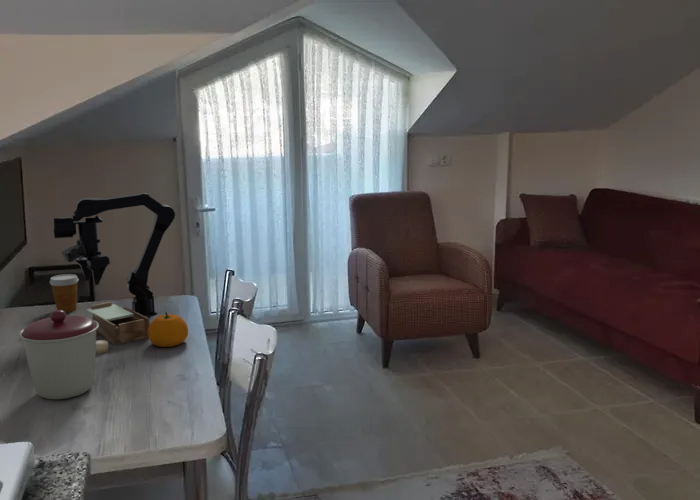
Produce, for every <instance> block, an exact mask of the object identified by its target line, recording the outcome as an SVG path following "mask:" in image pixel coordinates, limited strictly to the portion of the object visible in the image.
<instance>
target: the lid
mask: <svg viewBox="0 0 700 500" xmlns="http://www.w3.org/2000/svg"><path fill="white" fill-rule="evenodd" d="M90 306H91V307H90V308H87V309H86V312H88V313H89V314H91V315H92V314H93V313H95V314H97V315H98V316H100V317H102V318H104V319H106V320H108V321H112V320H116V319H121V318H126V317H131V316H134V314H133V313H131V312H129V311H127V310H125V309H124V307H121V306H119V305H117V304H115V303H112V301H106V302H103V303H97V304H92V305H90Z"/></svg>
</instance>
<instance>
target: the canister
mask: <svg viewBox="0 0 700 500" xmlns="http://www.w3.org/2000/svg"><path fill="white" fill-rule="evenodd" d="M98 327H99V324H98V322H96V321H94V320H93V318H89V317H87V316H82V315H67V312H64V311H63V310H57V309H56V310H53V311H52V312H51V313H50V316H49V317H47V318H42V319H38V320H36V321H34V322H32V323H29V324H27V326H26V327H24V328H22V329H21V330H20V331H19V332H18V337H19V339H21V340H22V342H23V343H22V344H23V346H24V347H23V348H24V351H25V356H26V360H27V365H28V368H29V372H30V376H31V380H32V384H33V386H34V389H35V391H36V393H37V394H38V396H40V397H41V398H44V399H48V400H65V399H71V398H74V397H78V396H81V395H83V394H85V393H86V392H87V391H89V390H90V389H91V388H92V386H93V384H94V382H95V376H96V375H95V374H96V373H95V370H96V341H97V334H96V330H97V329H98Z"/></svg>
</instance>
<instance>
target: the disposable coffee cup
mask: <svg viewBox="0 0 700 500" xmlns="http://www.w3.org/2000/svg"><path fill="white" fill-rule="evenodd" d="M79 281H80V279H79V278H78V275H76V274H71V273H69V274H66V273H65V274H58V275H54V276H52V277H50V280H49V284H50V286H51V289H52V293H53V298H54V303H55V307H56V310H63V311H64V312H65V313H70V312H75V311H76V310H77V307H78V306H77V305H78V304H77V301H78V282H79Z"/></svg>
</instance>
